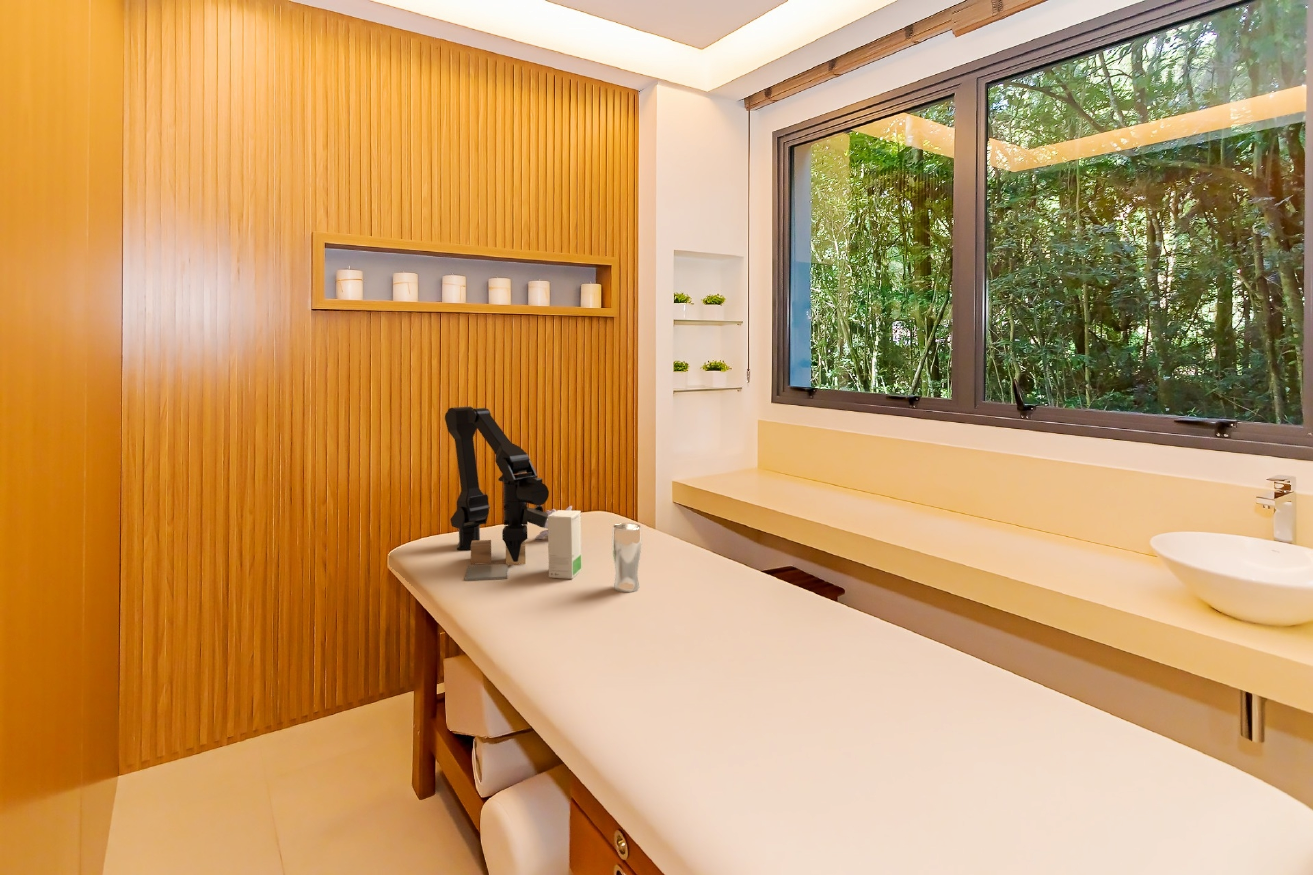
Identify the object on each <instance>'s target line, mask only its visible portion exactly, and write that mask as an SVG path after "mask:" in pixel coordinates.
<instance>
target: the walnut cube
mask: <svg viewBox="0 0 1313 875" xmlns="http://www.w3.org/2000/svg"><path fill="white" fill-rule="evenodd" d="M475 563H486V564H492V540H491V539H483V540H482V539H480V540H475V541H472V542H471V549H470V565H476V564H475Z"/></svg>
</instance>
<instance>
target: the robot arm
mask: <svg viewBox="0 0 1313 875" xmlns="http://www.w3.org/2000/svg"><path fill="white" fill-rule="evenodd" d="M444 421H445V425H446V429H447V432H448V433H449V434H450V435H451V437H452V438H453V439H454V443H455V452H456V459H457V468H458V476H459V484H460V493H459V494H458V495H459V496H458V498H457V499H456V510H455V512H454V513H453V515H452V516H451V517H450V524H451V527H452V528H456V529H458V544H457V546H456V550H471V542H472V541H475V540H481V536H480V535H481V533H480V532H481V530H480V525H486V524H487V522H488V518H489V514H490V513H489V512H490V508H491V507H490V504H489V495H488V494H487V493H485V494H484V492H483V491H482V490H481V489H480V482H479V475H478V466H477V458H476V452H475V451H476V450H475V442H474V436H475V435H476V432H477V430H478V432H479V433H480V435H481V436H482V437H483V439H484V440H485V441H486V442H487V444H488V445H489V447H490V448H491V449H492V451H493V453H494V454H495V460H494V462H495V464H496V466H497V467H498V469H499V471H500V473H501V474H502V475H500V477H499V478H498V482H502V483H503V525H504V526H503V529H502V530H501V531H502V539H501V540H502V541H503V542H504V544H505V547H506V546H507V548H508V551H509V553H510V555H511V557H512V559H513V561H514V562H518V558H519V553H520V548H521V544H522V542H524V541H525V542H526V540H528V523H529V524H532V525H535V526H537V525H538V527H539V528H543V529H545V528H544V527H545V524H546V521H547V520H548V514H547V513H546V511H544V506H543V505H544V504H546V502H547V501H548V499H549V495H550V490H549V488H548V486H547V485H546V484H545V483H543V478H541V477H538V474H537V470H536V469H535V467H534V465H533V463H532V461H531V459H530V456H529V454H528V453H527V452H526V451H525V450H524V449H523V448H522V447H521V446H519V445H517V444H515V443H513V442H512V441H511V440H510V439H509V438H508V436H507V435H506V434H505V432H504V431H503V430H502V428H501V427H500V426H499V424H498V423H497V422H496V420H495V419H494V417H492V414H491V411H490V409H488V408H486V407H479V408H474V407H472V406H458V407H456V406H455V407H449V408H448V409H447V411H446V413H445V414H444ZM528 504H530V505H534V506H535V507H529V506H528Z"/></svg>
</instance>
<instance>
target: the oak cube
mask: <svg viewBox="0 0 1313 875" xmlns="http://www.w3.org/2000/svg"><path fill="white" fill-rule="evenodd" d="M526 559H527V558H526V540H525V541H524V542H522V544H521V548H520V553H519V558H518V562H514V561H513V559H512V557H511V555H510V553H509V551H508V548H507V546H506V545H505V564H508V566H510V565H511V566H512V565H513V564H515V565H526Z"/></svg>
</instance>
